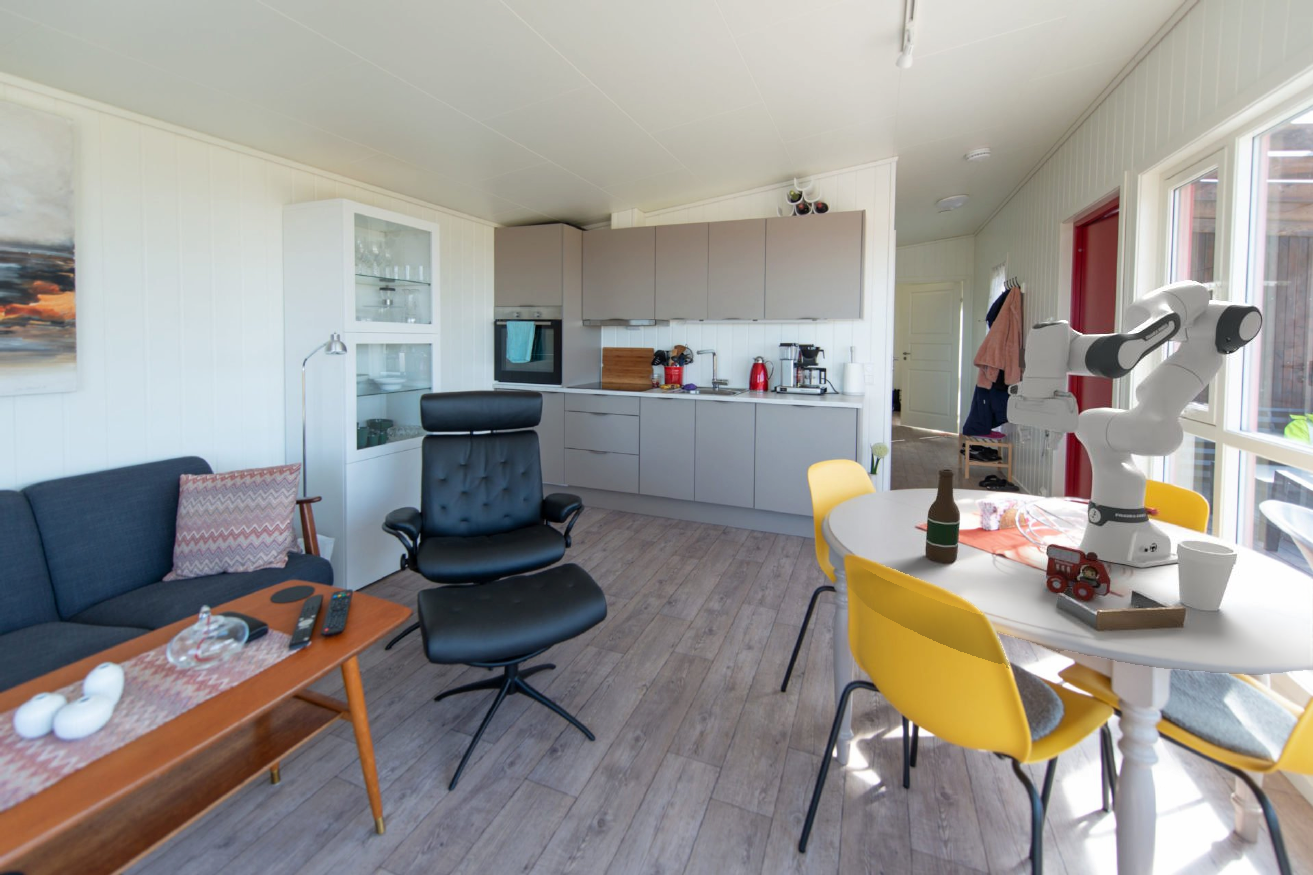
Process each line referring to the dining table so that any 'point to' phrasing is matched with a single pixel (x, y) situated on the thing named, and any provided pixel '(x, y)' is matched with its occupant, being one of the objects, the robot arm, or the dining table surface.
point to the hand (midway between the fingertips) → (1038, 446)
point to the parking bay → (1126, 614)
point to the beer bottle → (943, 522)
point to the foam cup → (1204, 573)
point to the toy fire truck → (1076, 573)
